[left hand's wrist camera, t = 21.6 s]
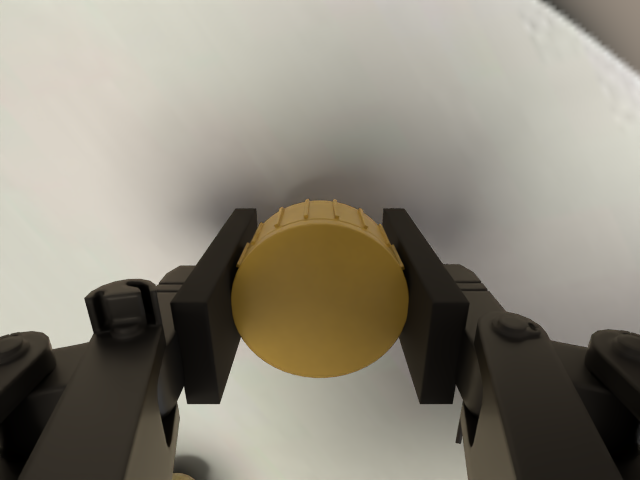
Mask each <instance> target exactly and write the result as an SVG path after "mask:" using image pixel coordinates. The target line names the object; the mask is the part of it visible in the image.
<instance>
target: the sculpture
mask: <svg viewBox="0 0 640 480" xmlns="http://www.w3.org/2000/svg"><path fill="white" fill-rule="evenodd" d="M172 480H195V479H193V478H192V477H190V476H189V475H186V474H183V473H173V475H172Z"/></svg>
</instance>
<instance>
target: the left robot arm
mask: <svg viewBox="0 0 640 480" xmlns="http://www.w3.org/2000/svg"><path fill="white" fill-rule="evenodd" d="M382 226H383V228H384V231H385V233H386V235H387V237H388V239H389V242H390V244H391V245H393V244H394V246H395V248H396V251H397V253H398V255H399V257H400V259H401V261H402V263H403V265H404V268H405V269H404V270H403V273H404V275H405V278H406V281H407V285H408V290H409V303H408V313H407V319H406V323H405V325H404V327H403V330H402V332H401V334H400V335H399V339H400V342H401V345H402V349H403V352H404V355H405V358H406V361H407V364H408V368H409V371H410V374H411V377H412V380H413V383H414V387H415V390H416V393H417V396H418V399H419V402H420V404H453V398H454V392H455V386H457V388H458V390H459V392H460V394H461V396H462V399H463V404H462V409H461V415H460V420H459V425H458V431H457V437H456V443H459V444H461V440H462V436H463V443H464V451H465V459H466V467H467V475H468V480H640V335H639V334H635V333H632V332H631V333H630V332H628V331H623V330H620V331H619V330H609V329H607V330H600V331H597V332H595V333H594V334H593V335H592V336H591V339H590V342H589V345H588V348H587V347H582V346H576V345H571V344H566V343H560V342H556V341H551V340H550V339H549V337H548V335H547V333H546V332H545V331H544V330H543V328H542V327H541V326H540V325H538V324H537V323H535V322H534V321H532V320H531V319H529V318H526V317H524V316H521V315H518V314H514V313H510V312H506V311H505V310H504V309H503V307H502V306H501V305H500V304H499V302H498V301H497V300H496V299H495V298H494V296H493V295H492V294H491V293H490V292H489V291H487V288H486V287H485V286H484V284H483V283H481V281H480V280H479V278H478V277H477V276H476V275H475V274H474V272H472V271H470V270H469V269H467V268H465V267H463V266H462V265H460V264H442V262H441V261H440V259H439V258H438V256H437V255H436V254H435V252H434V251H433V249H432V248H431V246H430V245H429V244H428V242H427V241H426V239H425V238H424V236H423V235H422V234H421V232H420V231H419V229H418V228H417V226H416V225H415V223H414V222H413V221H412V219H411V218H410V216H409V215H408V213H407V212H406V211H405V209H383V223H382ZM257 228H258V227H257V212H256V209H235V210H234V212H233V213H232V215H231V216H230V217H229V219H228V220H227V222H226V223H225V225H224V226H223V227H222V229H221V230H220V232H219V233H218V235H217V236H216V237H215V239H214V240H213V242H212V243H211V245H210V246H209V248H208V249H207V250H206V252H205V253H204V255H203V256H202V258H201V259H200V260H199V262H198V263H197V265H196V266H179V267H177V268H175V269H174V270H172V271H170V272H168V273H167V274H166V275H165V276H164V277H163V279H162V280H161V281H160V282H159V285H157V286H156V285H155V284H154V283H152V282H151V281H148V280H143V279H126V280H121V281H115V282H112V283H109V284H106V285H103V286H101V287H99V288H97V289H95V290H93V291H91V292H90V293H89V294H88V295H87V296H86V297H85V298H84V299H85V303H86V306H87V310H88V314H89V317H90V321H91V325H92V329H93V332H94V334H93V336H92V338H91V340H90V342H87V343H83V344H78V345H73V346H68V347H62V348H57V349H52V346H51V343H50V340H49V337H48V336H47V335H45V334H44V333H42V332H34V331H29V332H17V333H12V334H11V335H9V334H8V335H5V336H1V337H0V480H172V475H173V468H174V460H175V452H176V444H177V436H178V428H179V421H180V416H179V409H178V404H177V400H178V398H179V396H180V394H181V391H182V389H183V387H184V388H185V394H186V400H187V404H220V402H221V398H222V395H223V392H224V389H225V386H226V383H227V379H228V376H229V373H230V370H231V367H232V364H233V361H234V357H235V354H236V351H237V348H238V345H239V342H240V338H241V336H240V334H239V332H238V330H237V328H236V325H235V323H234V319H233V315H232V305H231V290H232V285H233V281H234V278H235V275H236V272H237V270H238V267H236V265H237V263H238V261H239V259H240V256H241V254H242V252H243V250H244V248H245V246H246V244H247V242H248V243H250V242H251V240H252V238H253V236H254V234H255V232H256V230H257Z"/></svg>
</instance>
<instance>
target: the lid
mask: <svg viewBox="0 0 640 480" xmlns="http://www.w3.org/2000/svg"><path fill="white" fill-rule="evenodd" d="M236 267H238V270H237V272H236V275H235V278H234V281H233V285H232V290H231V305H232V315H233V319H234V323H235V325H236V328H237V330H238V332H239V334H240V336H241V337H242V339H243V341H244V342H245V343H246V344H247V346H248V347H249V348H250V349H251V350H252V351H253V352H254V353H255V354H256V355H257V356H258V357H260V358H261V359H262V360H264V361H265V362H266V363H268V364H270V365H272V366H273V367H275V368H277V369H280V370H282V371H284V372H287V373H291V374H294V375H298V376H303V377H312V378H328V377H337V376H342V375H346V374H349V373H352V372H355V371H358V370H360V369H362V368H365V367H367V366H368V365H370V364H372V363H373V362H375V361H376V360H378V359H379V358H380V357H381V356H383V355H384V354H385V353H386V352H387V351H388V350H389V349H390V348H391V347H392V346H393V344H394V343H395V342H396V340H397V339H398V337H399V335H400V334H401V332H402V330H403V327H404V325H405V323H406V319H407V313H408V303H409V290H408V285H407V281H406V278H405V275H404V273H403V270H404V269H405V268H404V265H403V263H402V261H401V259H400V257H399V255H398V253H397V251H396V248H395V246H394V244H393V245H391V244H390V242H389V239H388V237H387V235H386V233H385V231H384V228H383V226H382V225H381V224H379V225H378V224H377V223H376V222H375V221H374V220H372V219H371V218H370V217H369V216H367V215H366V214H365V213H363V210H362V209H361V208H359V209H356V208H353V207H351V206H348V205H346V204H342V203H338V202H337V200H335V199H333V201H325V200H321V201H309V199H306V200H305V202H302V203H298V204H294V205H291V206H289V207H287V208H283V207H281V208H280V209H279V212H277V213H275V214H274V215H273V216H271V217H270V218H269V219H267V220H266V221H265V222H264V223H262V222H261V223H260V224H259V225H258V228H257V230H256V232H255V234H254V236H253V238H252V240H251V242H250V243H248V242H247V244H246V246H245V248H244V250H243V252H242V254H241V256H240V259H239V261H238V263H237V265H236Z"/></svg>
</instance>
